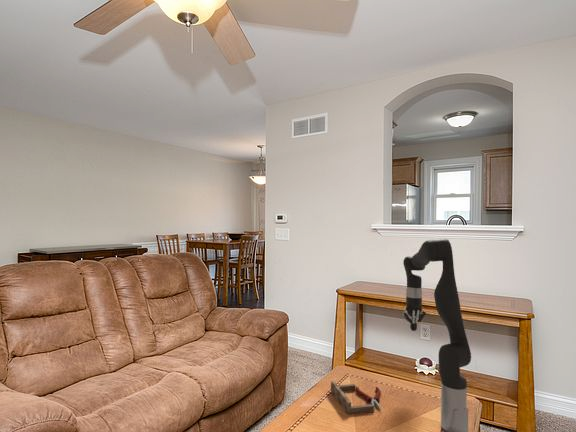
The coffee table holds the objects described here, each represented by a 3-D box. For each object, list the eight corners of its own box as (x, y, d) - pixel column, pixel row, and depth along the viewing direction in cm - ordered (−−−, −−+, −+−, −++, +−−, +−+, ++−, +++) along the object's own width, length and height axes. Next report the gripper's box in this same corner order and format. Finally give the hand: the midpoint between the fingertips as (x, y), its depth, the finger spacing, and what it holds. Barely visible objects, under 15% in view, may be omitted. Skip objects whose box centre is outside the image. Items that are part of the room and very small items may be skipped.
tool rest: (373, 411, 153) (374, 400, 153) (347, 414, 150) (347, 402, 150) (354, 389, 173) (354, 378, 173) (330, 391, 170) (330, 380, 170)
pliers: (364, 412, 152) (364, 406, 152) (354, 390, 173) (355, 385, 173) (391, 413, 153) (391, 407, 153) (378, 391, 173) (378, 385, 173)
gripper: (406, 298, 175) (405, 333, 175) (430, 297, 178) (429, 332, 178) (398, 294, 182) (397, 328, 182) (421, 294, 185) (420, 327, 185)
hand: (413, 330), depth 180 cm, fingers closed
